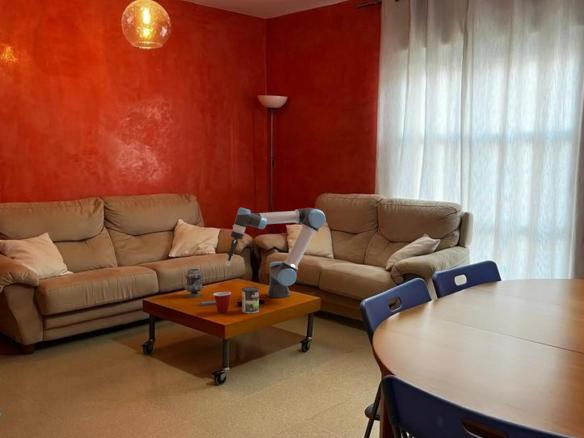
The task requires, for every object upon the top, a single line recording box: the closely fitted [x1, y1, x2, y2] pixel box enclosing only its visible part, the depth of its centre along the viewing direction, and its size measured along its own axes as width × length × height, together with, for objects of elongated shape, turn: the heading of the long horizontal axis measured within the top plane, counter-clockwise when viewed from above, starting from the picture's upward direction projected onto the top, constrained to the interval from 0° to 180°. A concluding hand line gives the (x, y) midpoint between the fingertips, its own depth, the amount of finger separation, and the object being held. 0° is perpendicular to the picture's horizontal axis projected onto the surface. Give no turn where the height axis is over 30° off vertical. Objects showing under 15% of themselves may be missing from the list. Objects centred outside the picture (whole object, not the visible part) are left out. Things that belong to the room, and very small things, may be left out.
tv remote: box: [198, 300, 216, 307], centre depth 352 cm, size 15×4×2 cm, turn 110°
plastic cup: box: [213, 291, 232, 314], centre depth 333 cm, size 11×11×12 cm
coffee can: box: [241, 286, 260, 314], centre depth 335 cm, size 10×10×14 cm
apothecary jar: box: [184, 268, 204, 298], centre depth 371 cm, size 12×12×18 cm
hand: (228, 264), depth 345 cm, fingers open, 13 cm apart
